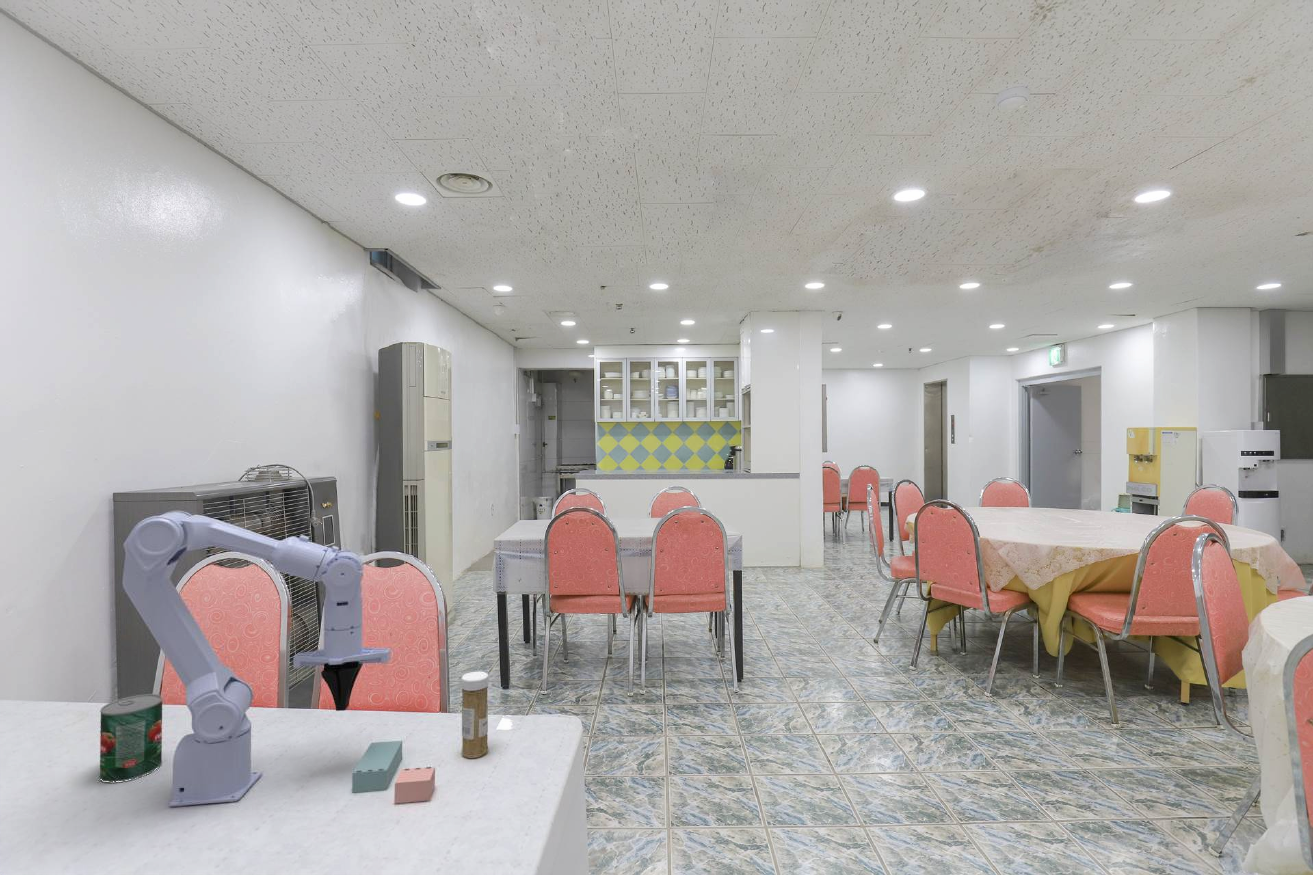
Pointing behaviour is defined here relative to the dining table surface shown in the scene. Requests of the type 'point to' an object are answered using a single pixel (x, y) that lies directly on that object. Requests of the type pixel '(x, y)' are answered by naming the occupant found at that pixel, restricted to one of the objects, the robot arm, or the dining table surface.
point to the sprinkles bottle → (474, 714)
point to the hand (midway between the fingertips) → (342, 708)
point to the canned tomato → (130, 737)
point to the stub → (414, 785)
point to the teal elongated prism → (377, 767)
